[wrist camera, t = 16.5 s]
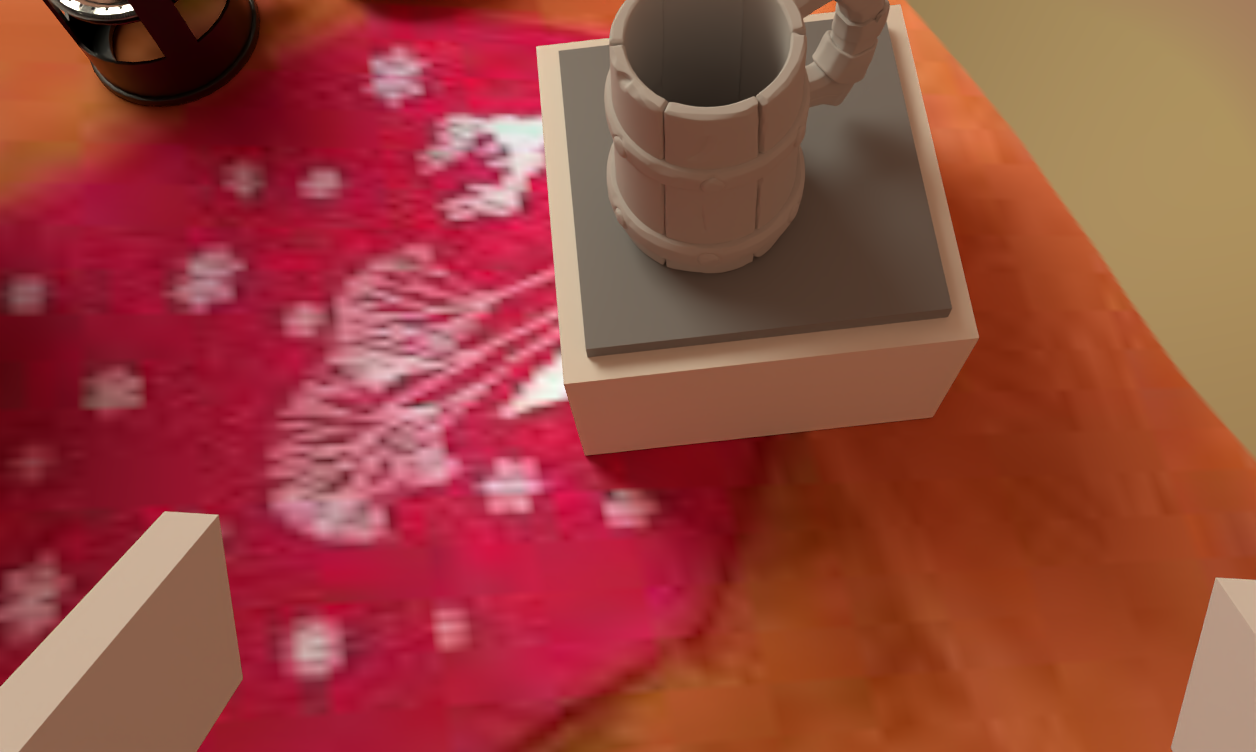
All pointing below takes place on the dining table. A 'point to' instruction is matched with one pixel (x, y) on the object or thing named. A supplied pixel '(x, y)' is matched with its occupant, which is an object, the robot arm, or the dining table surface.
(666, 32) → the mug
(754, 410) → the stand
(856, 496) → the dining table surface
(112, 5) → the french press
